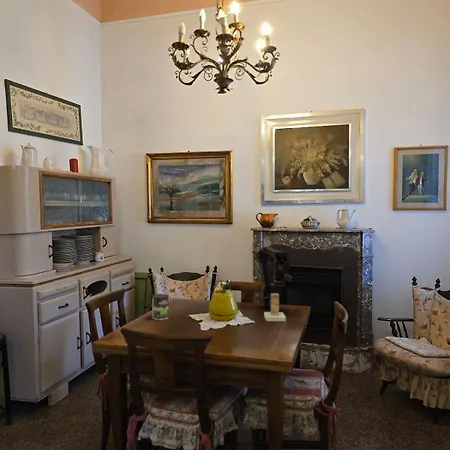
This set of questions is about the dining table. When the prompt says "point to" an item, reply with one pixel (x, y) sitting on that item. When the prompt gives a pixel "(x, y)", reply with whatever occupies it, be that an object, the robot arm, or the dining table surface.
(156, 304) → the coffee can
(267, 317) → the tile base
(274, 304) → the oak block
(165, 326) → the dining table surface
